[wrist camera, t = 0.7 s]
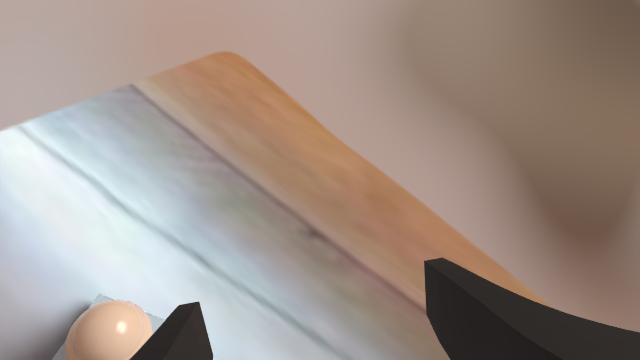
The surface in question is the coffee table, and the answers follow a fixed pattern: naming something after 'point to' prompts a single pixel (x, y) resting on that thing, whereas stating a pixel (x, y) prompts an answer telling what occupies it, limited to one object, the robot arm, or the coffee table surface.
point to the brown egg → (108, 332)
